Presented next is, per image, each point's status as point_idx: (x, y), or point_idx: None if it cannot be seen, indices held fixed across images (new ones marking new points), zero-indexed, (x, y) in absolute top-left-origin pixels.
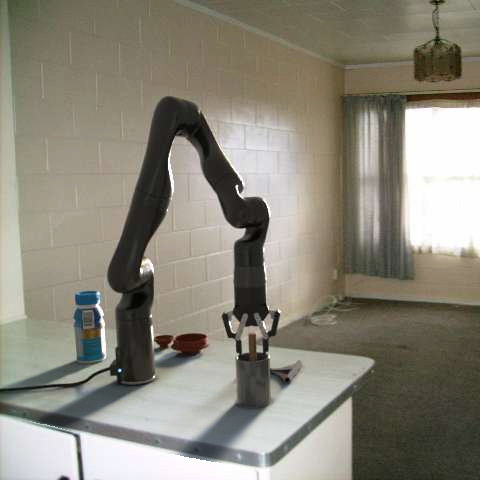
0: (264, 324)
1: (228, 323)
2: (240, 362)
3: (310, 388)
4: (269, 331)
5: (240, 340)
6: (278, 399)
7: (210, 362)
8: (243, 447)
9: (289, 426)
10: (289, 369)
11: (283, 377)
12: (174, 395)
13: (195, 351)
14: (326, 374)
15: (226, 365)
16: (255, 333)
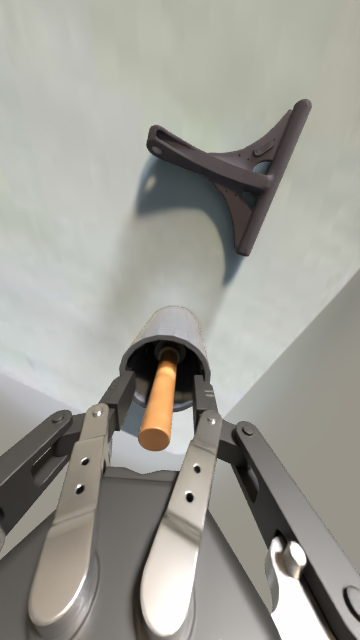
0: (214, 467)
1: (10, 527)
2: (135, 400)
3: (276, 288)
4: (228, 456)
5: (115, 428)
6: (212, 328)
7: (49, 8)
8: None
9: None
10: (261, 189)
11: (237, 233)
12: (36, 277)
13: None
14: (337, 205)
15: (101, 60)
16: (167, 440)
